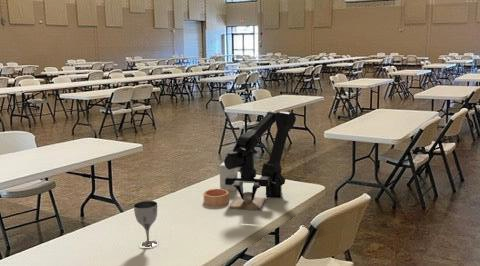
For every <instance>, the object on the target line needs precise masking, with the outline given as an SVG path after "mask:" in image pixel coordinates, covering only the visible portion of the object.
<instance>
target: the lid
mask: <svg viewBox="0 0 480 266" xmlns="http://www.w3.org/2000/svg"><path fill="white" fill-rule="evenodd" d="M234 198H235V197H234ZM266 199H267V197H256V196H255V197H254V200H252V191H243V200H242V198H241V196H236V198H235V200H234V199H233V200H234V201H233V200H232V201H233V203H232V202H231V203H232V204H231V203H230V204H231V206H230V208H234V209H251V210H260V209H261V207H262V205H263V204H264V202H265V200H266ZM234 209H233V210H234ZM251 210H250V211H251Z"/></svg>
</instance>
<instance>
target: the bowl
mask: <svg viewBox="0 0 480 266" xmlns="http://www.w3.org/2000/svg"><path fill="white" fill-rule="evenodd" d="M202 195H203V203H204V204H205V205H208V206H212V207H213V206H215V207H216V206H224V205H227V204H228V203H229V202H230V191H227V190H224V189H220V188H211V189H208V190H205V191H204V192H203V194H202Z"/></svg>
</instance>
